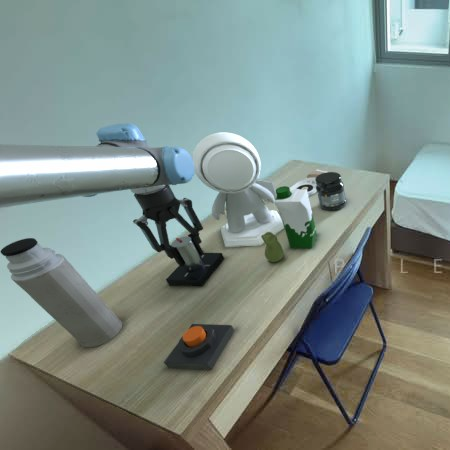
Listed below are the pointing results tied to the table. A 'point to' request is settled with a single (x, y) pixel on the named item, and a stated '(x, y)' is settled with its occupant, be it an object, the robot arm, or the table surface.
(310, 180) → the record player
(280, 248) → the pear
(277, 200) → the milk carton
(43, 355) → the table surface
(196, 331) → the power button
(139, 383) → the table surface
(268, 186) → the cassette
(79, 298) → the thermos bottle
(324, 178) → the supplement container
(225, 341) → the black button base
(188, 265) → the timer knob
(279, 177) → the table surface
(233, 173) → the white cartoon figure
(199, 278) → the timer panel
